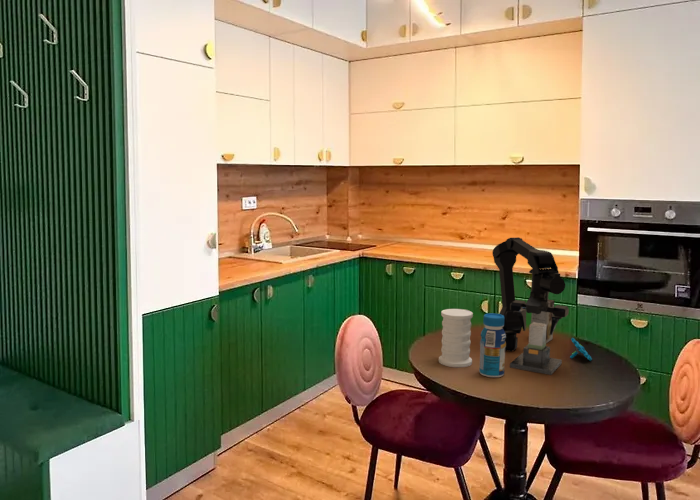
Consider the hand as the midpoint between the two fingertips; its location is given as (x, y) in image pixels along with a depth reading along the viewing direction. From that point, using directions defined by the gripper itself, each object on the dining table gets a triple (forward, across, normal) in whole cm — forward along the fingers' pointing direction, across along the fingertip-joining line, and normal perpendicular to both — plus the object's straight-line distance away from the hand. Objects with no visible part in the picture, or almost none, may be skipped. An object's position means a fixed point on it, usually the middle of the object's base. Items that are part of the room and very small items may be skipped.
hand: (537, 332), depth 215 cm
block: (+6, 0, 0) cm, 6 cm away
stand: (+12, 0, 0) cm, 12 cm away
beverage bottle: (+12, -10, -17) cm, 23 cm away
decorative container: (+12, -25, -12) cm, 30 cm away
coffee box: (+12, -7, +33) cm, 36 cm away
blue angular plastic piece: (+12, +11, +17) cm, 24 cm away
